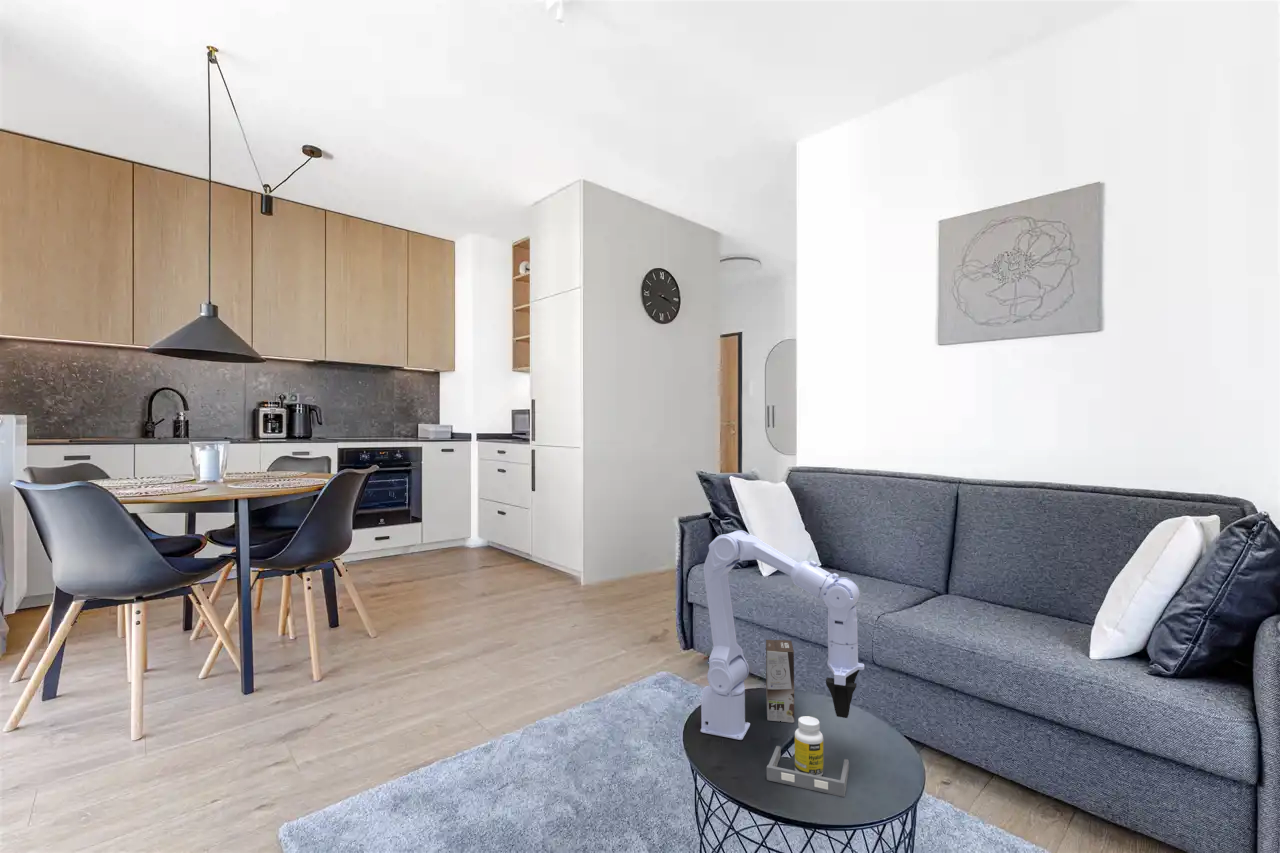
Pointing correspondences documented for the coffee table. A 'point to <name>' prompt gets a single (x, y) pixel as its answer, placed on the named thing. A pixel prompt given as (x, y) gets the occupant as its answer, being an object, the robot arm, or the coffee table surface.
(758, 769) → the coffee table surface
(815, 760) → the supplement bottle
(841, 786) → the rail
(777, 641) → the coffee box
